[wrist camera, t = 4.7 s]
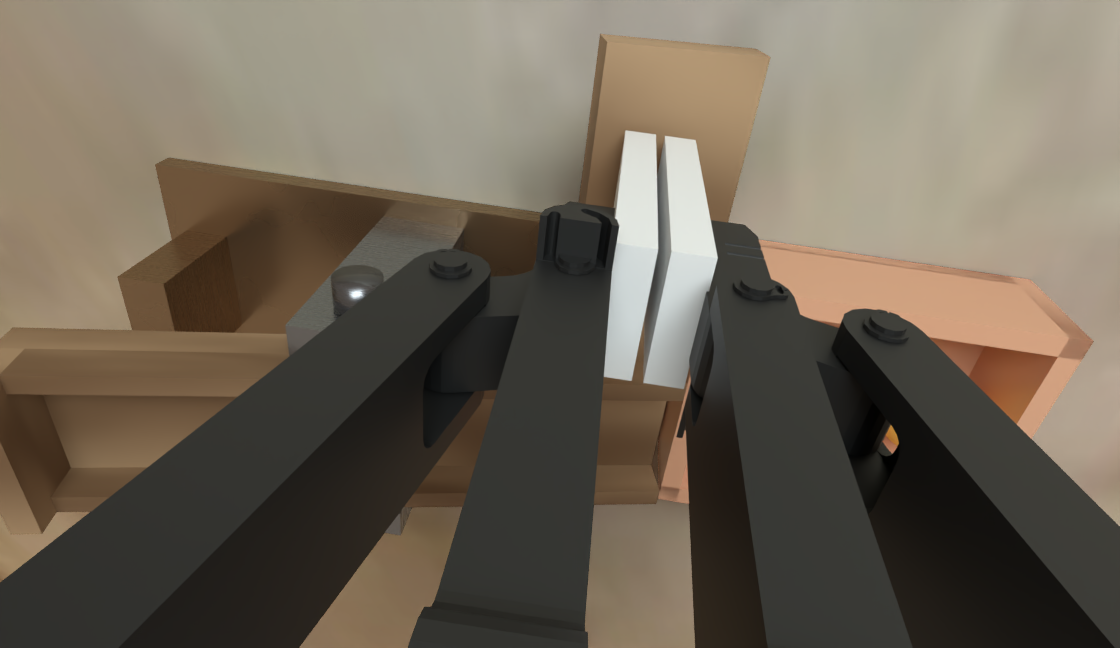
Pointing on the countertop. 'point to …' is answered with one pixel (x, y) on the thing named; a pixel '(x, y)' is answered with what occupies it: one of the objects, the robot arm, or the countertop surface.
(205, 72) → the countertop surface
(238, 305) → the lever stand
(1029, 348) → the dish
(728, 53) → the lever
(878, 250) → the countertop surface
